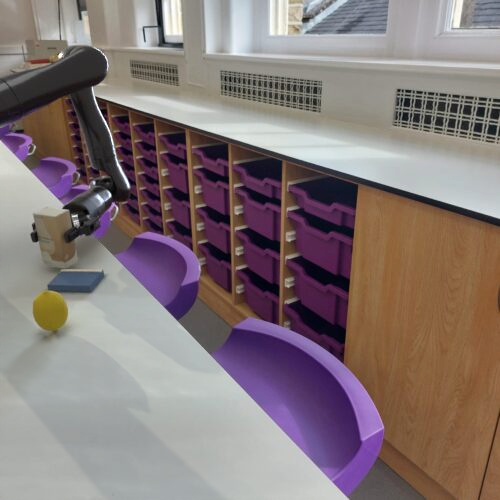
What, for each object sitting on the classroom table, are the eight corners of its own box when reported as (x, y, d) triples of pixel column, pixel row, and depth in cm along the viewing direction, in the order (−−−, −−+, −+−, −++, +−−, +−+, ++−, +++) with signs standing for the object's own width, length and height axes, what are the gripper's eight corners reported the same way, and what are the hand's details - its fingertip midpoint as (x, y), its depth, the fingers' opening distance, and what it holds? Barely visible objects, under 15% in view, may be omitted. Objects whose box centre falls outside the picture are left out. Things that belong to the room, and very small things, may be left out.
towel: (48, 291, 98) (46, 283, 98) (64, 275, 105) (62, 267, 104) (90, 292, 97) (89, 284, 96) (104, 275, 103) (103, 268, 103)
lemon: (71, 336, 83) (62, 295, 80) (37, 342, 82) (25, 301, 79) (72, 319, 88) (63, 280, 85) (40, 325, 87) (29, 286, 84)
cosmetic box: (43, 265, 106) (30, 213, 101) (56, 257, 110) (45, 206, 104) (67, 269, 104) (55, 216, 99) (80, 260, 107) (69, 208, 102)
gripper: (52, 195, 116) (13, 221, 101) (110, 196, 114) (78, 222, 99) (59, 225, 119) (21, 254, 104) (115, 225, 117) (85, 255, 102)
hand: (49, 238), depth 102 cm, fingers closed on cosmetic box, 7 cm apart
